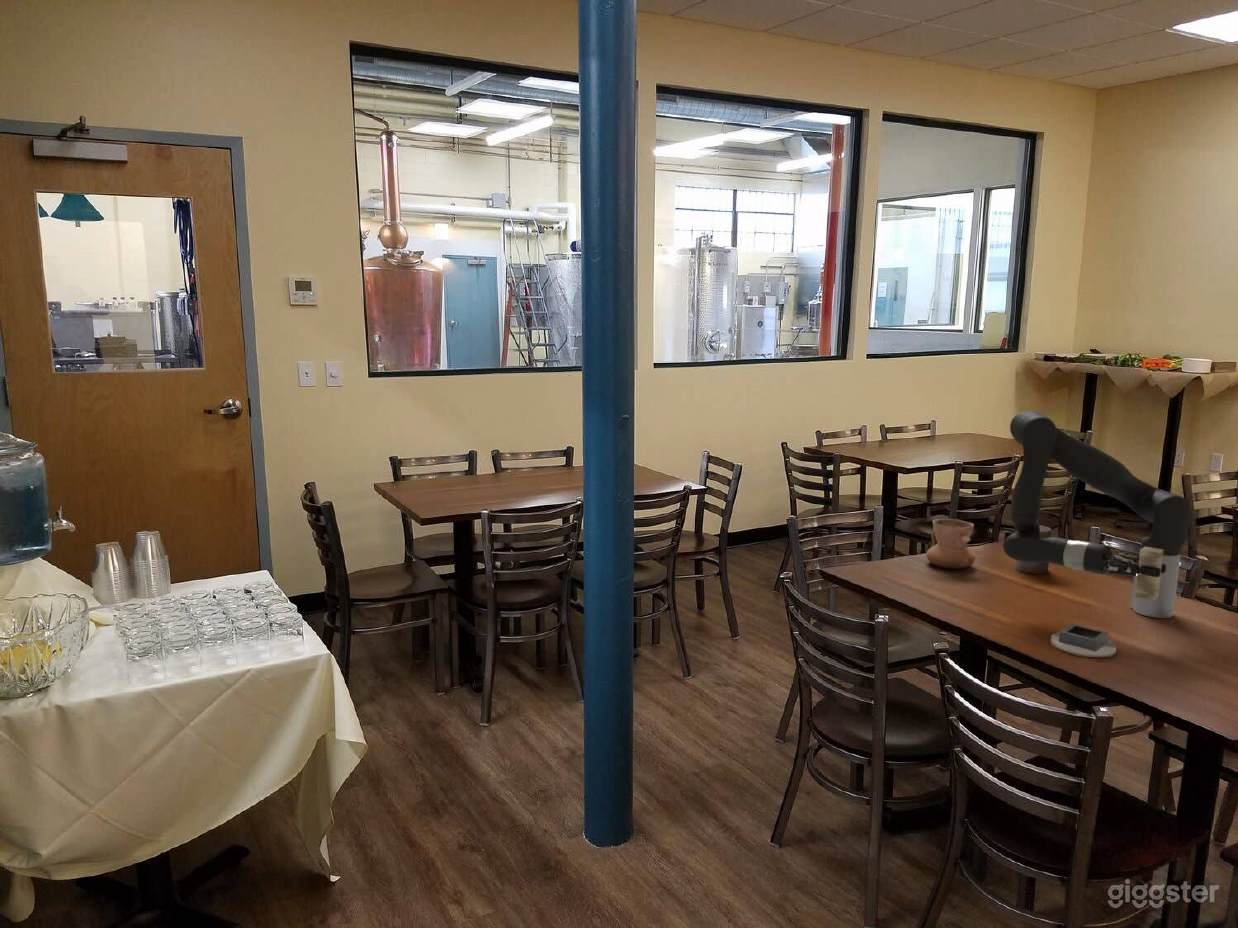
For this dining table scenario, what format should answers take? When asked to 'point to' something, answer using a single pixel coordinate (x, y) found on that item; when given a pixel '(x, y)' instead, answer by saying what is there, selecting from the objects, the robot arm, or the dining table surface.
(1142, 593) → the beige rectangular block
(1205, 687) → the dining table surface
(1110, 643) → the rosette plate
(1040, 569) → the pillar candle
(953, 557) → the ceramic jug
